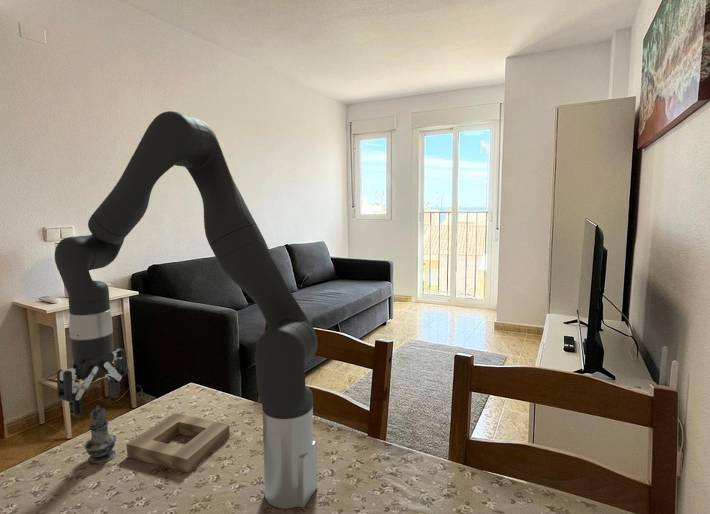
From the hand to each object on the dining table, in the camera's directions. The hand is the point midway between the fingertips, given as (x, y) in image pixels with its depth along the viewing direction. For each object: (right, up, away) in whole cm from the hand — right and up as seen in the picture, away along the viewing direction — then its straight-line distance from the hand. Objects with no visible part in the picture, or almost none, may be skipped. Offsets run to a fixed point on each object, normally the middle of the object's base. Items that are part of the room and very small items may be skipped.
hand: (97, 406), depth 88 cm
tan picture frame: (+15, -11, +6) cm, 20 cm away
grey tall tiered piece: (0, -12, +2) cm, 12 cm away
